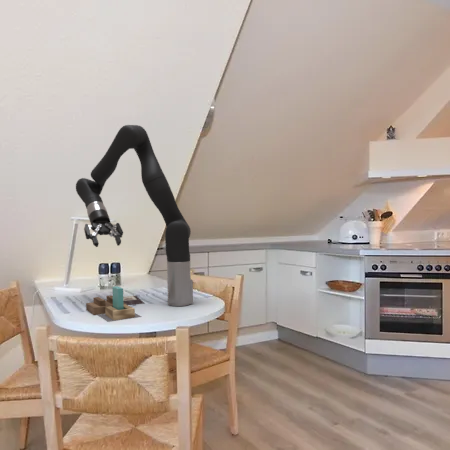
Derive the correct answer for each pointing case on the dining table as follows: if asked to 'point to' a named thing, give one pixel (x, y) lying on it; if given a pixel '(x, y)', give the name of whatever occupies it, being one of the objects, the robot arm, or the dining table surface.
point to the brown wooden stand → (99, 305)
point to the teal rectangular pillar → (118, 298)
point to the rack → (120, 312)
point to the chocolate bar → (132, 300)
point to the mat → (115, 320)
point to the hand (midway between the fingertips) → (108, 244)
